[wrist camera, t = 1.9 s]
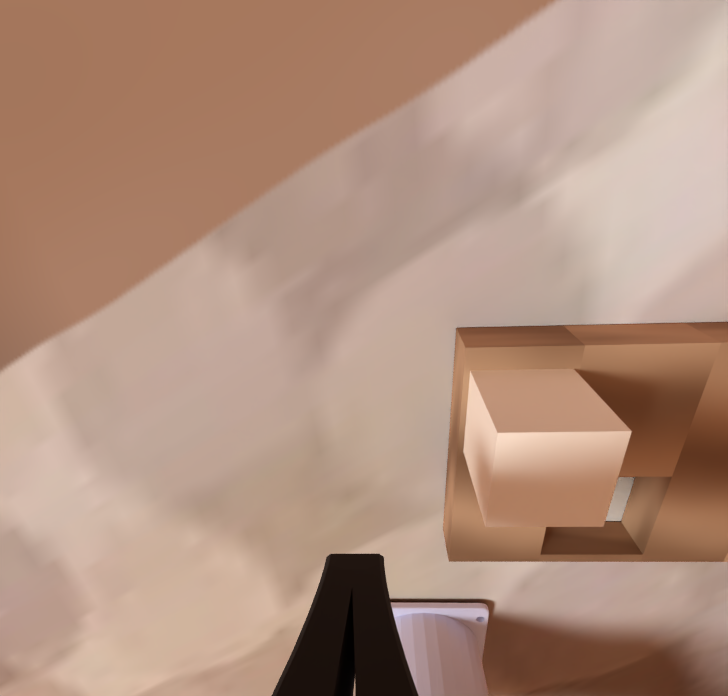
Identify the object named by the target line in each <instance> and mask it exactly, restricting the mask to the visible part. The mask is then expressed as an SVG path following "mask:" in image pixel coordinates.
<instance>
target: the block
mask: <svg viewBox="0 0 728 696" xmlns="http://www.w3.org/2000/svg"><path fill="white" fill-rule="evenodd" d="M631 432H632V431H631V430H630V429H629V428H628V427H627V426H626V424H625V423H624V422H623V421H622V420H621V419H620V418H619V417H618V416H617V415H616V414H615V413H614V412H613V411H612V409H611V408H610V407H609V406H608V405H607V404H606V403H605V402H604V401H603V400H602V399H601V398H600V397H599V395H598V394H597V393H596V392H595V391H594V390H593V389H592V388H591V387H590V386H589V385H588V384H587V383H586V381H585V380H584V379H583V378H582V377H581V376H580V375H579V374H578V373H577V372H576V371H575V370H574V369H534V370H477V371H470V380H469V391H468V403H467V414H466V426H465V438H464V449H463V452H464V456H465V459H466V462H467V466H468V469H469V473H470V476H471V479H472V483H473V486H474V489H475V493H476V496H477V500H478V503H479V506H480V510H481V513H482V517H483V520H484V523H485V527H603V526H604V523H605V520H606V516H607V513H608V510H609V506H610V503H611V500H612V496H613V493H614V489H615V486H616V483H617V479H618V476H619V473H620V469H621V466H622V463H623V459H624V456H625V452H626V449H627V446H628V442H629V439H630V436H631Z"/></svg>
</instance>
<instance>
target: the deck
mask: <svg viewBox="0 0 728 696" xmlns="http://www.w3.org/2000/svg"><path fill="white" fill-rule="evenodd" d="M534 369H574V370H575V371H576V372H577V373H578V374H579V375H580V376H581V377H582V378H583V379H584V380H585V381H586V383H587V384H588V385H589V386H590V387H591V388H592V389H593V390H594V391H595V392H596V393H597V394H598V395H599V397H600V398H601V399H602V400H603V401H604V402H605V403H606V404H607V405H608V406H609V407H610V408H611V409H612V411H613V412H614V413H615V414H616V415H617V416H618V417H619V418H620V419H621V420H622V421H623V422H624V423H625V424H626V426H627V427H628V428H629V429H630V430H631V431H632V432H631V436H630V439H629V442H628V446H627V449H626V452H625V456H624V459H623V463H622V466H621V469H620V473H619V476H618V477H635V480H634V483H633V486H632V489H631V493H630V496H629V499H628V502H627V505H626V508H625V511H624V514H623V518H622V521H621V522H605V523H604V526H603V527H485V523H484V520H483V517H482V513H481V510H480V506H479V503H478V500H477V496H476V493H475V489H474V486H473V483H472V479H471V476H470V473H469V469H468V466H467V462H466V459H465V456H464V452H463V449H464V438H465V426H466V414H467V403H468V391H469V380H470V371H477V370H534ZM443 531H444V537H445V542H446V548H447V553H448V559H449V561H571V562H728V322H708V323H662V324H616V325H570V326H524V327H478V328H456V342H455V357H454V372H453V387H452V402H451V417H450V432H449V447H448V462H447V478H446V493H445V508H444V523H443Z"/></svg>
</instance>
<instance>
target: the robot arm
mask: <svg viewBox="0 0 728 696" xmlns="http://www.w3.org/2000/svg"><path fill="white" fill-rule="evenodd" d="M488 618H489V610H488V606H487V605H486V604H484V603H403V602H390V598H389V593H388V588H387V583H386V576H385V569H384V557H383V556H381V555H380V554H330V555H329V556H328V557H327V558H326V562H325V566H324V570H323V573H322V577H321V580H320V583H319V586H318V589H317V592H316V595H315V597H314V600H313V603H312V605H311V608H310V611H309V613H308V616H307V618H306V621H305V623H304V625H303V628H302V630H301V633H300V635H299V637H298V640H297V642H296V645H295V647H294V649H293V652H292V654H291V656H290V658H289V660H288V662H287V664H286V667H285V669H284V671H283V673H282V675H281V677H280V679H279V681H278V683H277V686H276V688H275V690H274V692H273V694H272V696H353V689H354V680H355V683H356V696H489V693H488V689H487V684H486V679H485V674H484V669H483V665H482V658H483V651H484V645H485V638H486V632H487V625H488Z"/></svg>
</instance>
